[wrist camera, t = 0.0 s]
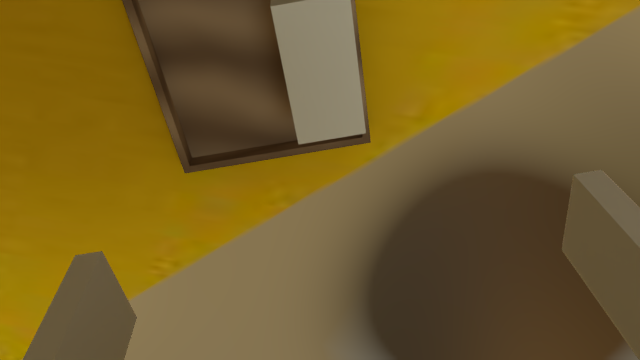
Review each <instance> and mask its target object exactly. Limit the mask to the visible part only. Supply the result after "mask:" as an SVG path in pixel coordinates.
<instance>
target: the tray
mask: <svg viewBox="0 0 640 360" xmlns="http://www.w3.org/2000/svg"><path fill="white" fill-rule="evenodd" d="M122 1H123V3H124V6H125V9H126V12H127V15H128V17H129V20H130V23H131V26H132V28H133V31H134V34H135V37H136V39H137V42H138V45H139V48H140V50H141V53H142V56H143V59H144V61H145V64H146V67H147V70H148V73H149V75H150V78H151V81H152V84H153V86H154V89H155V92H156V95H157V97H158V100H159V103H160V106H161V108H162V111H163V114H164V117H165V120H166V122H167V125H168V128H169V131H170V133H171V136H172V139H173V142H174V144H175V147H176V150H177V153H178V155H179V158H180V161H181V164H182V166H183V169H184V172H185V173H189V172H195V171H201V170H207V169H213V168H219V167H226V166H232V165H238V164H244V163H250V162H256V161H262V160H268V159H274V158H280V157H286V156H292V155H298V154H304V153H310V152H316V151H322V150H328V149H334V148H340V147H346V146H352V145H358V144H364V143H370V133H369V124H368V115H367V106H366V97H365V88H364V79H363V70H362V61H361V52H360V43H359V34H358V25H357V16H356V7H355V0H351V8H352V16H353V25H354V34H355V43H356V51H357V60H358V69H359V77H360V86H361V95H362V103H363V112H364V121H365V129H366V133H365V134H359V135H353V136H347V137H341V138H335V139H329V140H323V141H317V142H311V143H305V144H299V145H298V140H297V135H296V130H295V125H294V120H293V115H292V110H291V106H290V101H289V96H288V91H287V86H286V81H285V76H284V71H283V66H282V61H281V56H280V51H279V47H278V42H277V37H276V32H275V27H274V22H273V17H272V12H271V7H270V4H271V0H122Z"/></svg>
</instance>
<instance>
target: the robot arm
mask: <svg viewBox="0 0 640 360" xmlns="http://www.w3.org/2000/svg"><path fill="white" fill-rule="evenodd" d="M562 251H563V252H564V254H565V255H566V257H567V258H568V260H569V261H570V262H571V264H572V265H573V267H574V268H575V269H576V271H577V272H578V274H579V275H580V277H581V278H582V279H583V281H584V282H585V283H586V285H587V287H588V288H589V289H590V291H591V292H592V294H593V295H594V296H595V298H596V299H597V301H598V302H599V304H600V305H601V306H602V308H603V309H604V310H605V312H606V313H607V315H608V316H609V318H610V319H611V321H612V322H613V323H614V325H615V326H616V328H617V329H618V331H619V332H620V333H621V335H622V336H623V338H624V339H625V341H626V342H627V343H628V345H629V346H630V348H631V349H632V350H633V352H634V353H635V355H636V356H637V358H638V359H639V360H640V207H639V206H638V205H636V203H635V202H634V201H632V200H631V199H630V197H629V196H628V195H627V194H625V192H623V190H622V189H620V187H618V185H616V183H615V182H613V181H612V180H611V179H610V178H609V177H608V176H607V175H606V174H605V173H604V172H603V171H602V170H598V171H592V172H585V173H579V174H574V175H573V181H572V187H571V194H570V200H569V207H568V213H567V219H566V226H565V232H564V239H563V245H562ZM136 319H137V317H136V315H135V313H134V311H133V309H132V307H131V305H130V303H129V302H128V300H127V298H126V296H125V294H124V292H123V290H122V288H121V286H120V284H119V283H118V281H117V279H116V277H115V275H114V273H113V271H112V269H111V267H110V265H109V264H108V262H107V260H106V258H105V256H104V254H103V252H102V251H100V252H94V253H88V254H82V255H75V257H74V259H73V261H72V263H71V265H70V267H69V269H68V271H67V273H66V275H65V277H64V279H63V281H62V283H61V285H60V287H59V289H58V291H57V293H56V295H55V297H54V299H53V301H52V303H51V305H50V307H49V309H48V311H47V313H46V315H45V317H44V319H43V321H42V323H41V325H40V327H39V329H38V330H37V332H36V334H35V336H34V338H33V340H32V342H31V344H30V346H29V348H28V350H27V352H26V354H25V356H24V358H23V360H124V358H125V355H126V351H127V348H128V344H129V341H130V338H131V335H132V332H133V328H134V325H135V322H136Z"/></svg>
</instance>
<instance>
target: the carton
mask: <svg viewBox="0 0 640 360" xmlns="http://www.w3.org/2000/svg"><path fill="white" fill-rule="evenodd" d="M270 7H271V12H272V17H273V22H274V27H275V32H276V37H277V42H278V47H279V51H280V56H281V61H282V66H283V71H284V76H285V81H286V86H287V91H288V96H289V101H290V106H291V110H292V115H293V120H294V125H295V130H296V135H297V140H298V145H299V144H305V143H311V142H317V141H323V140H329V139H335V138H341V137H347V136H353V135H359V134H365V133H366V129H365V121H364V112H363V103H362V95H361V86H360V77H359V69H358V60H357V51H356V43H355V34H354V25H353V16H352V8H351V0H271V4H270Z"/></svg>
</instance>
